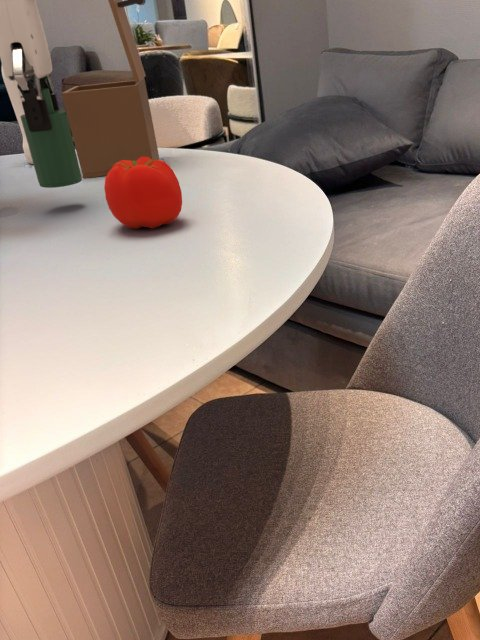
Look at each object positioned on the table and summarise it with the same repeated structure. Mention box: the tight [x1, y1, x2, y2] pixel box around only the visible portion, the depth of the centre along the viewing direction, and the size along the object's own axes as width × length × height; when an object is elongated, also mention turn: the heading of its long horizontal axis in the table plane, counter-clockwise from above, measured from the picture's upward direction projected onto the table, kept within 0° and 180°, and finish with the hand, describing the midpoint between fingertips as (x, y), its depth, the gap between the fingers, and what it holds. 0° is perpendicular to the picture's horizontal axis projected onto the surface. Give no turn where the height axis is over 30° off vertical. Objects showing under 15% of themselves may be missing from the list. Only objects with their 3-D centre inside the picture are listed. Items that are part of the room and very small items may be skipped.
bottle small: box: [20, 88, 83, 189], centre depth 97 cm, size 6×6×13 cm
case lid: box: [108, 0, 147, 83], centre depth 116 cm, size 14×14×5 cm
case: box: [61, 78, 160, 179], centre depth 124 cm, size 14×14×15 cm
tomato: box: [103, 157, 183, 229], centre depth 87 cm, size 11×11×9 cm
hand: (46, 125), depth 96 cm, fingers closed on bottle small, 6 cm apart
